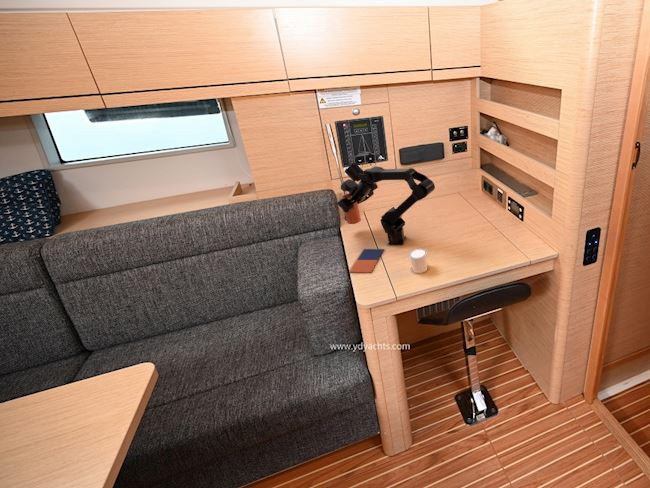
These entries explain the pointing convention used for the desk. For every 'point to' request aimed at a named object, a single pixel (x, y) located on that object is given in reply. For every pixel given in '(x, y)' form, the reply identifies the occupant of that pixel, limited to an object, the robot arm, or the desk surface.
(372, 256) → the sorting mat
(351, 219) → the terracotta cup
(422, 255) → the shot glass
